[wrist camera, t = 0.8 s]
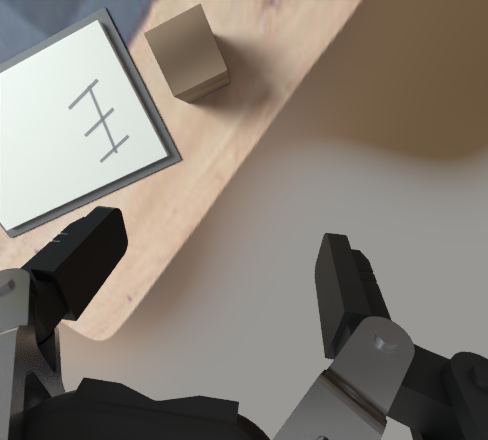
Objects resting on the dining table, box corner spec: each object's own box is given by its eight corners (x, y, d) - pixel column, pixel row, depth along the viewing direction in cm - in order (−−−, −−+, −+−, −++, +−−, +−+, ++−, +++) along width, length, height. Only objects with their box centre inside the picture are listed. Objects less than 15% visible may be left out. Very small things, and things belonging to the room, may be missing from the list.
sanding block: (166, 55, 29) (143, 33, 22) (210, 33, 28) (200, 3, 21) (188, 103, 30) (173, 96, 23) (230, 83, 29) (227, 69, 23)
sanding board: (-84, 112, 30) (-95, 112, 29) (105, 7, 27) (100, 3, 26) (11, 237, 35) (4, 240, 34) (181, 159, 32) (179, 160, 31)
